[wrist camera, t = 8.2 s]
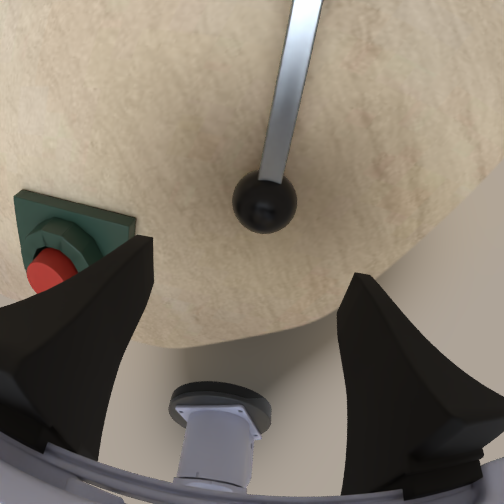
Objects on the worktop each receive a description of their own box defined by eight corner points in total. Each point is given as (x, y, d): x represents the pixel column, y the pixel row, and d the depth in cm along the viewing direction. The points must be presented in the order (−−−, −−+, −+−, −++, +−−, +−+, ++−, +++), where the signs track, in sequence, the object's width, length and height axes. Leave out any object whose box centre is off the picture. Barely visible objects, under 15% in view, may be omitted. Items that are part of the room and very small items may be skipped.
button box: (136, 217, 20) (117, 242, 17) (132, 303, 24) (119, 330, 22) (22, 189, 19) (-2, 207, 16) (34, 270, 23) (16, 292, 21)
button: (77, 255, 18) (64, 271, 17) (81, 294, 20) (71, 310, 19) (35, 241, 18) (22, 256, 17) (43, 280, 20) (31, 295, 19)
